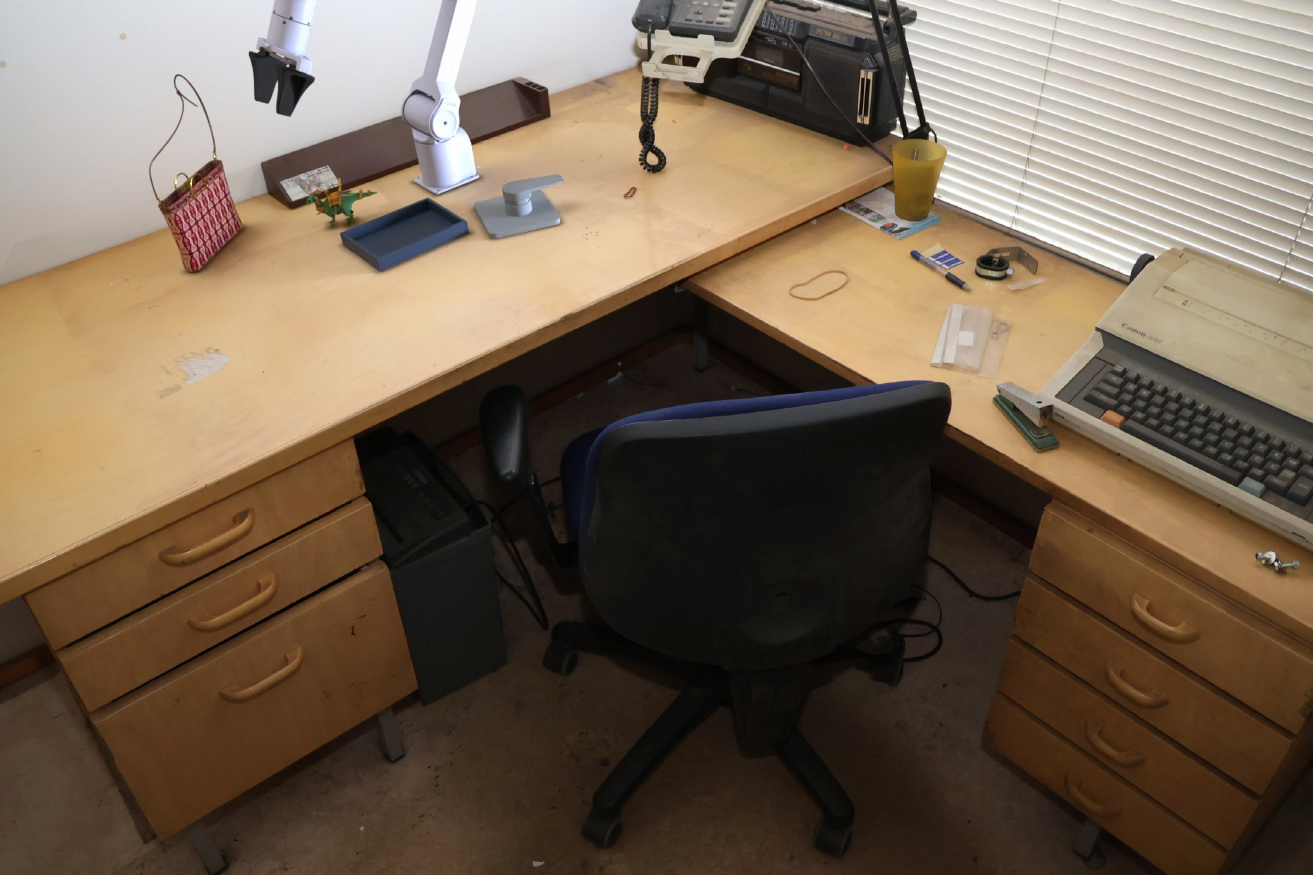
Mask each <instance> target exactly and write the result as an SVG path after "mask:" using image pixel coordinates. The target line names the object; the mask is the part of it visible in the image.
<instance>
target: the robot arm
mask: <svg viewBox="0 0 1313 875" xmlns="http://www.w3.org/2000/svg"><path fill="white" fill-rule="evenodd" d="M317 2H318V0H274V1H273V6H272V10H271V15H270V19H269V25H268V29H267V34H266V38H265V37H262V36H258V37H257V42H256V46H255V49H256V50H257V52H255V51H252V50H249V51H248V58H249V60H250V65H251V68H252V76H253V98H254V101H255V102H259V103H262V104H267V105H269V104H270V102H271V100H272V98H273V94H274V92H275V89H276V85H277V93H276V95H277V96H276V102H275V113H276V114H277V115H281V116H284V117H288V118H291V117H292V115H293V113H294V111H295V109H296V107H297V105H298V104H299V101H300V100H301V98H302V97H303V95H304V93H305V92H306V91H307V90H308V88H310V86H311V85H313V84H314V82H315V81H316V77H315V76H314V75H311V74H312V71H313V65H314V61H313V60H311V59H310V58H309V57H308V56H307V55H306V52H307V47H308V43H309V42H308V41H309V37H310V34H311V29H312V24H313V19H314V16H315V11H316V8H317V7H316V6H317ZM477 3H478V0H442V1H441V4H440V8H439V12H438V15H437V20H436V23H435V27H434V31H433V35H432V39H431V41H430V42H431V43H430V47H429V50H428V54H427V58H426V62H425V65H424V68H423V69H424V70H423V72H422V75H421V76H420V77H418V78H416V79H415V80H414V81H413V82H412V83H411V87H410V90H409V92H408V94H407V95H405V97H404V98H403V100H402V103H401V106H400V114H401V118H402V120H403V122H404V123H405V124H406V125H408V126H409V127H410V130H411V133H412V138H413V143H414V147H415V152H416V157H417V161H418V166H419V172H420V175H419V176H416V177H414V178H413V179H412V181H413V182H414V183H415V184H416V185H418V186H420V187H422V188H423V189H425V190H427V191H429V192H430V193H432V194H434V195H439V194H443V193H445V192H447V191H450V190H452V189H455V188H457V187H459V186H462V185H465V184H468V183H470V182H473V181H474V180H477V179H479V178H480V175H479V174H477V171H476V165H475V159H474V153H473V148H472V143H471V140H470V138H469V136H468V133H467V132H466V131H465V129H464V128H462V127H461V126H459V125H460V115H459V112H460V111H459V109H460V105H461V98H460V97H459V94H458V92H457V90H456V88H455V85H456V80H457V78H458V73H459V70H460V66H461V63H462V57H463V54H464V51H465V49H466V48H465V47H466V44H467V40H468V36H469V32H470V29H471V26H472V22H473V19H474V14H475V10H476V6H477Z"/></svg>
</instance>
